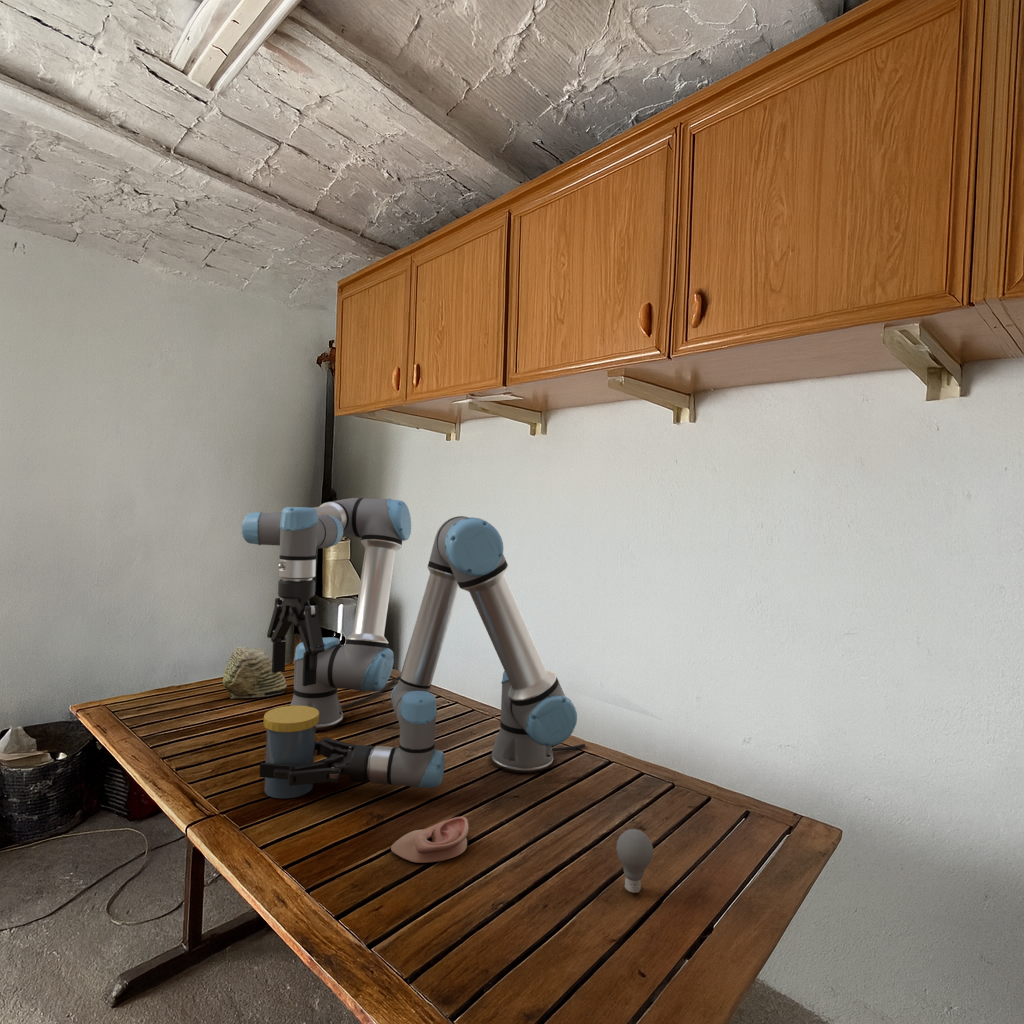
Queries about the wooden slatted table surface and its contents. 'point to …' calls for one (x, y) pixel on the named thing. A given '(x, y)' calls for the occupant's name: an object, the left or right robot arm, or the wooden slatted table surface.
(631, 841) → the light bulb
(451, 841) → the anatomical model
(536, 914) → the wooden slatted table surface
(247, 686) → the fossil
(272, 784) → the jar
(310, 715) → the lid
